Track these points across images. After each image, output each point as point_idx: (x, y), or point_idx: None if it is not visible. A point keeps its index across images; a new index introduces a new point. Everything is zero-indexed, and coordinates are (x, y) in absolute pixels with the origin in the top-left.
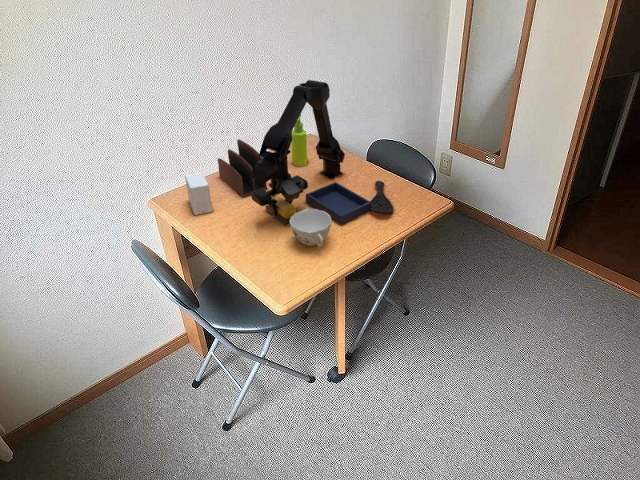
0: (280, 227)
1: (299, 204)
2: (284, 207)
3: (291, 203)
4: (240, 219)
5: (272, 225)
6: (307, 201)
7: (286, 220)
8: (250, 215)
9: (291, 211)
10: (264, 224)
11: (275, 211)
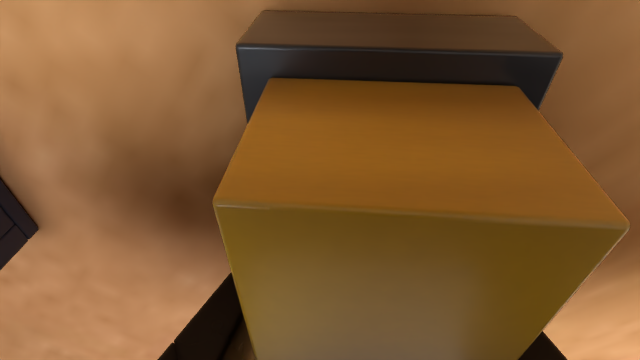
0: (615, 43)
1: (111, 244)
2: (451, 336)
3: (205, 314)
4: (636, 353)
5: (612, 155)
6: (2, 232)
7: (555, 53)
8: None
9: (394, 159)
10: (632, 220)
11: None
